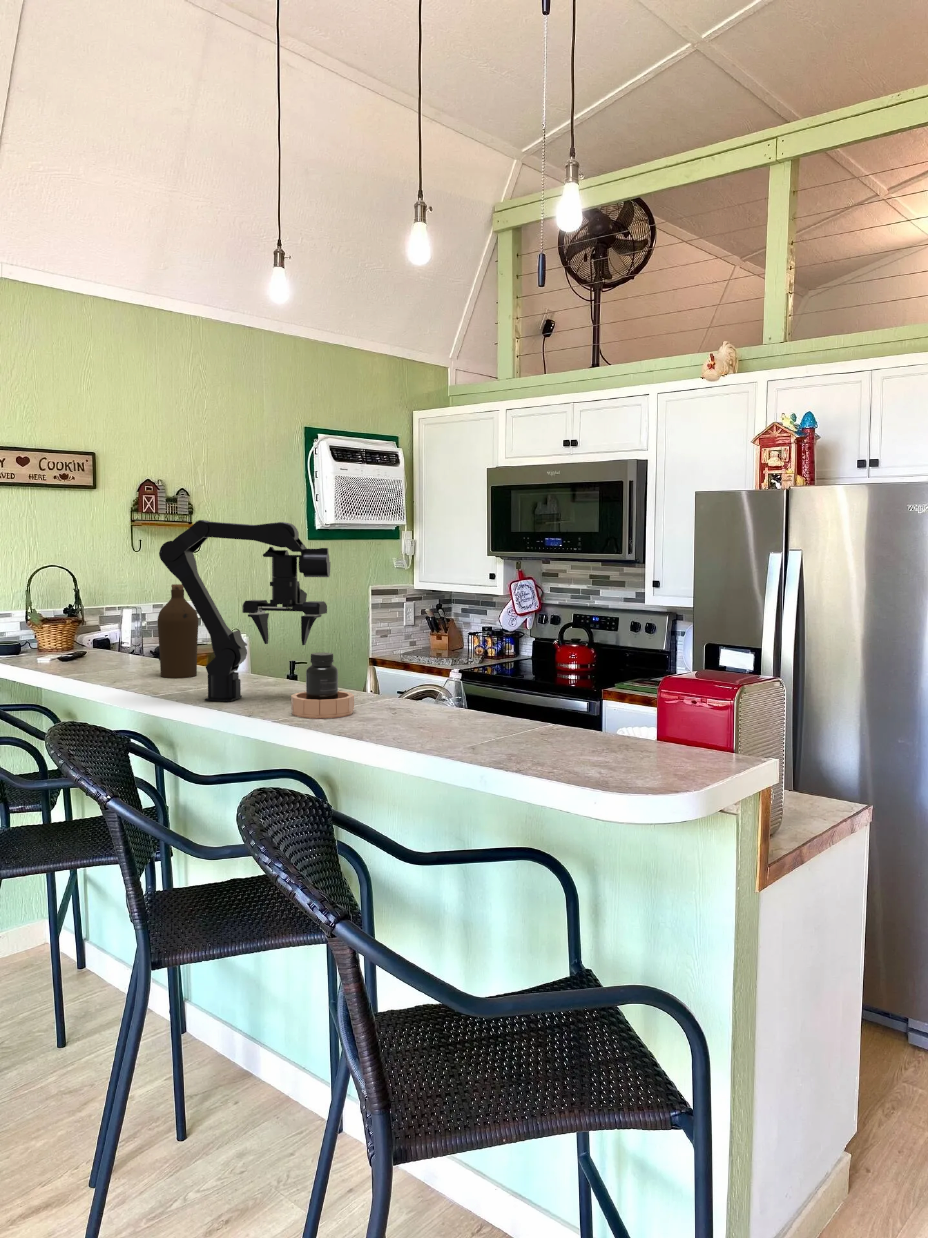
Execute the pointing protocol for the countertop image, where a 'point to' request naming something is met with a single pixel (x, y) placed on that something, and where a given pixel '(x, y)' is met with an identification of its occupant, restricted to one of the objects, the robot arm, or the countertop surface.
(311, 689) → the supplement bottle
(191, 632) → the olive oil
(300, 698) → the terracotta bowl
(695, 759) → the countertop surface
